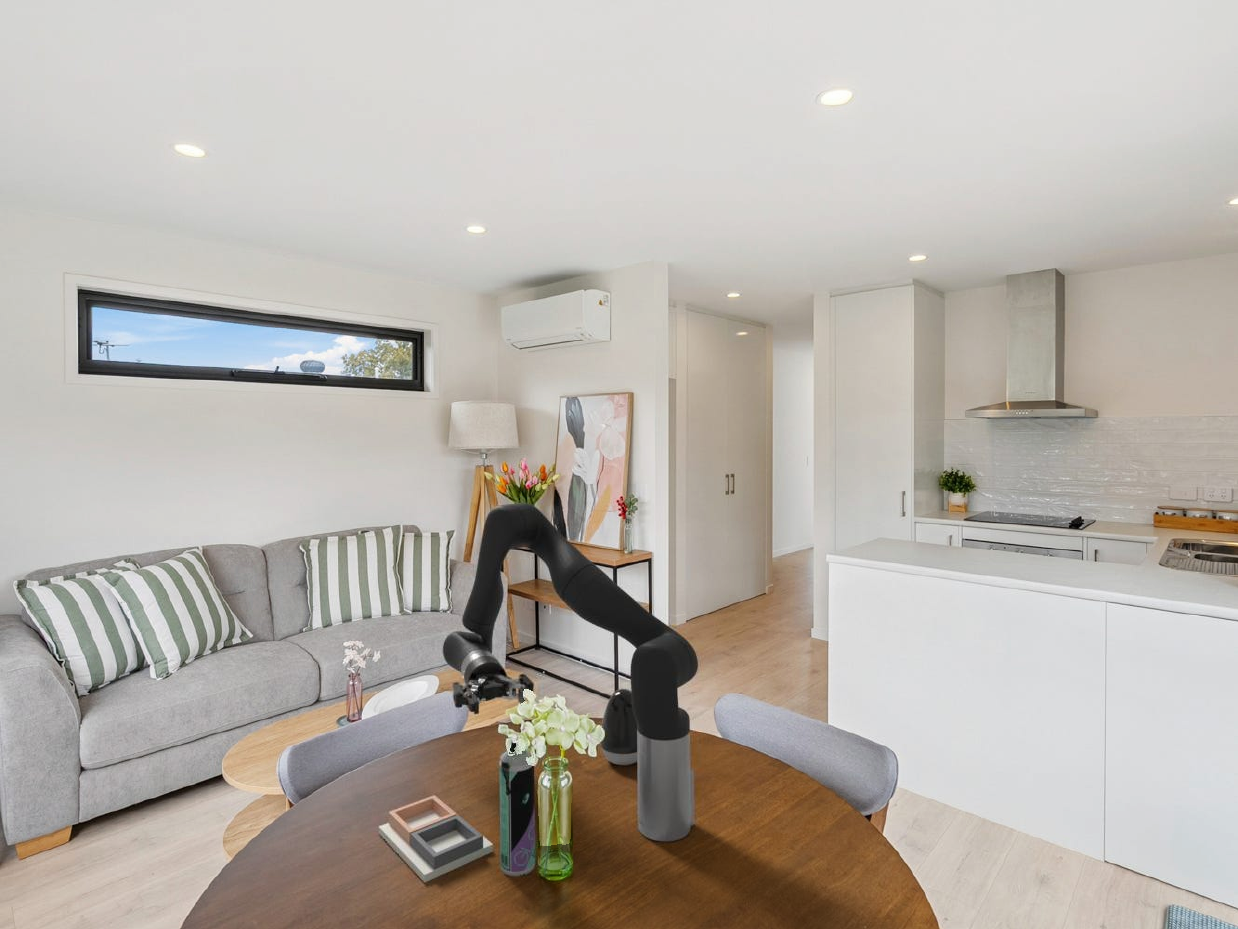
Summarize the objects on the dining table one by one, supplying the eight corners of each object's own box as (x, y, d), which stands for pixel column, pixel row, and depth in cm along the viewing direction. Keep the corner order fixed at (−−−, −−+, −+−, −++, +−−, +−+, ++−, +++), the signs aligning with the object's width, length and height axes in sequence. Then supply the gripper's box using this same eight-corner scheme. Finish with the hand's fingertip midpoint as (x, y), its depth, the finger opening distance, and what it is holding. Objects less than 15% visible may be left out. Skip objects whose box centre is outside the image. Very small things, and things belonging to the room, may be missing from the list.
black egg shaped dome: (614, 776, 136) (613, 701, 136) (591, 756, 145) (591, 686, 145) (657, 764, 141) (656, 692, 141) (632, 745, 150) (631, 678, 150)
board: (442, 808, 124) (442, 791, 124) (493, 851, 110) (492, 832, 110) (378, 833, 116) (378, 815, 116) (424, 882, 102) (424, 862, 102)
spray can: (528, 878, 103) (527, 750, 103) (495, 874, 104) (493, 747, 104) (539, 857, 109) (538, 735, 108) (508, 853, 110) (506, 732, 109)
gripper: (446, 659, 128) (460, 689, 113) (518, 651, 134) (541, 678, 119) (445, 697, 128) (460, 732, 113) (518, 688, 134) (541, 720, 119)
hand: (501, 705), depth 116 cm, fingers open, 8 cm apart
